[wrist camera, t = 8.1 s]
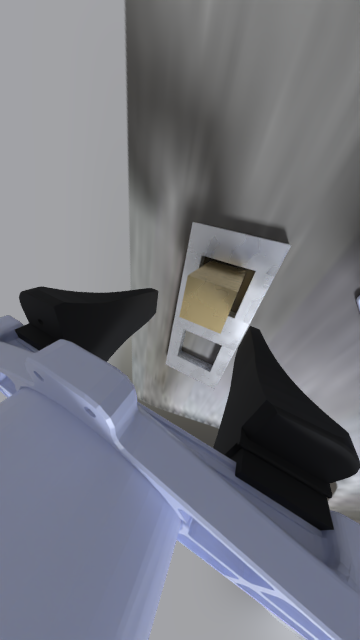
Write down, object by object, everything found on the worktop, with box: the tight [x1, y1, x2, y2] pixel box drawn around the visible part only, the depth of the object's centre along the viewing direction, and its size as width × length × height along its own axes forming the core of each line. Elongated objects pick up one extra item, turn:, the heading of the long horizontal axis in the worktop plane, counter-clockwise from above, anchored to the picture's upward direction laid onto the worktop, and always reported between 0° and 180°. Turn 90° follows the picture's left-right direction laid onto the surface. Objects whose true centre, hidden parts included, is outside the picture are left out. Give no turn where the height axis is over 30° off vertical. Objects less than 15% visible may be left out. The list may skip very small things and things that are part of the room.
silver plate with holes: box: [166, 222, 291, 389], centre depth 21 cm, size 22×9×2 cm, turn 169°
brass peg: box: [179, 261, 246, 334], centre depth 16 cm, size 4×4×7 cm
